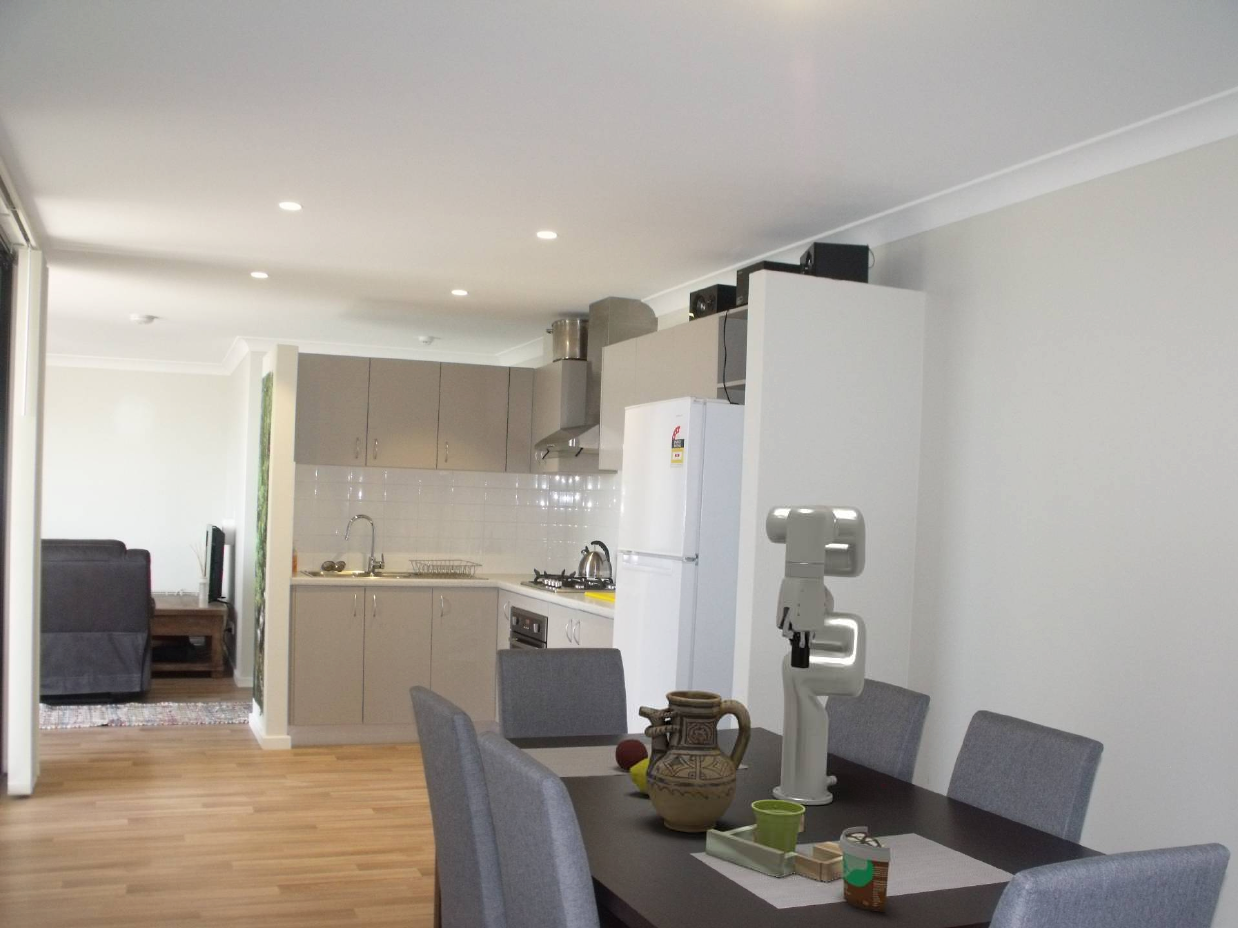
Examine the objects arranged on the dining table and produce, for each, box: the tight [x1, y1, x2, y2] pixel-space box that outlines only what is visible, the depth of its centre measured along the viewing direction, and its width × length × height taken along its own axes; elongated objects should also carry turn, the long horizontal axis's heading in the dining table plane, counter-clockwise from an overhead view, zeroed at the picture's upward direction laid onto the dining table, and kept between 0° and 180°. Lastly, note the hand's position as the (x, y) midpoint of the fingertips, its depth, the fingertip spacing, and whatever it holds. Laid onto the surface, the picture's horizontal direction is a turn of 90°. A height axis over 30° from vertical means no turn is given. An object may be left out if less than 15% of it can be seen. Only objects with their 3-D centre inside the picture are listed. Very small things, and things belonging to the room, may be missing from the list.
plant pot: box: [751, 799, 806, 854], centre depth 198 cm, size 9×9×9 cm
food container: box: [838, 826, 891, 912], centre depth 177 cm, size 12×6×10 cm, turn 5°
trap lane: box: [705, 814, 886, 882], centre depth 199 cm, size 26×22×4 cm
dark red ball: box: [614, 738, 649, 772], centre depth 258 cm, size 7×8×7 cm
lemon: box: [629, 757, 650, 795], centre depth 236 cm, size 11×8×8 cm
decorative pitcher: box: [638, 690, 752, 834], centre depth 214 cm, size 22×18×25 cm
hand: (799, 667), depth 216 cm, fingers closed
